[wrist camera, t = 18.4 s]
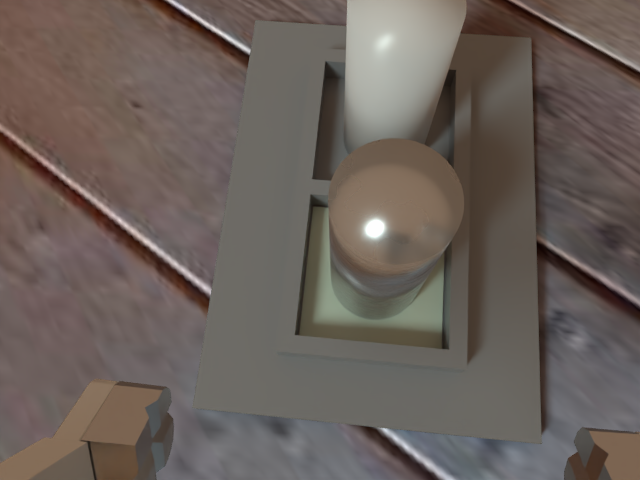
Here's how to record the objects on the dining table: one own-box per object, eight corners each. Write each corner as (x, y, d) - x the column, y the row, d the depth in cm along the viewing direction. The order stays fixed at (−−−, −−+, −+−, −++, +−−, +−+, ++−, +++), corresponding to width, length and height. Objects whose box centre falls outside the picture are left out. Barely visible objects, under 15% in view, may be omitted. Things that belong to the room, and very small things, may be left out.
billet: (421, 237, 28) (465, 143, 19) (417, 324, 27) (463, 269, 17) (334, 230, 28) (334, 133, 19) (326, 315, 27) (321, 257, 17)
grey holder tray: (525, 48, 33) (614, -127, 22) (534, 443, 26) (668, 456, 15) (257, 31, 34) (223, -146, 23) (197, 408, 27) (109, 398, 16)
